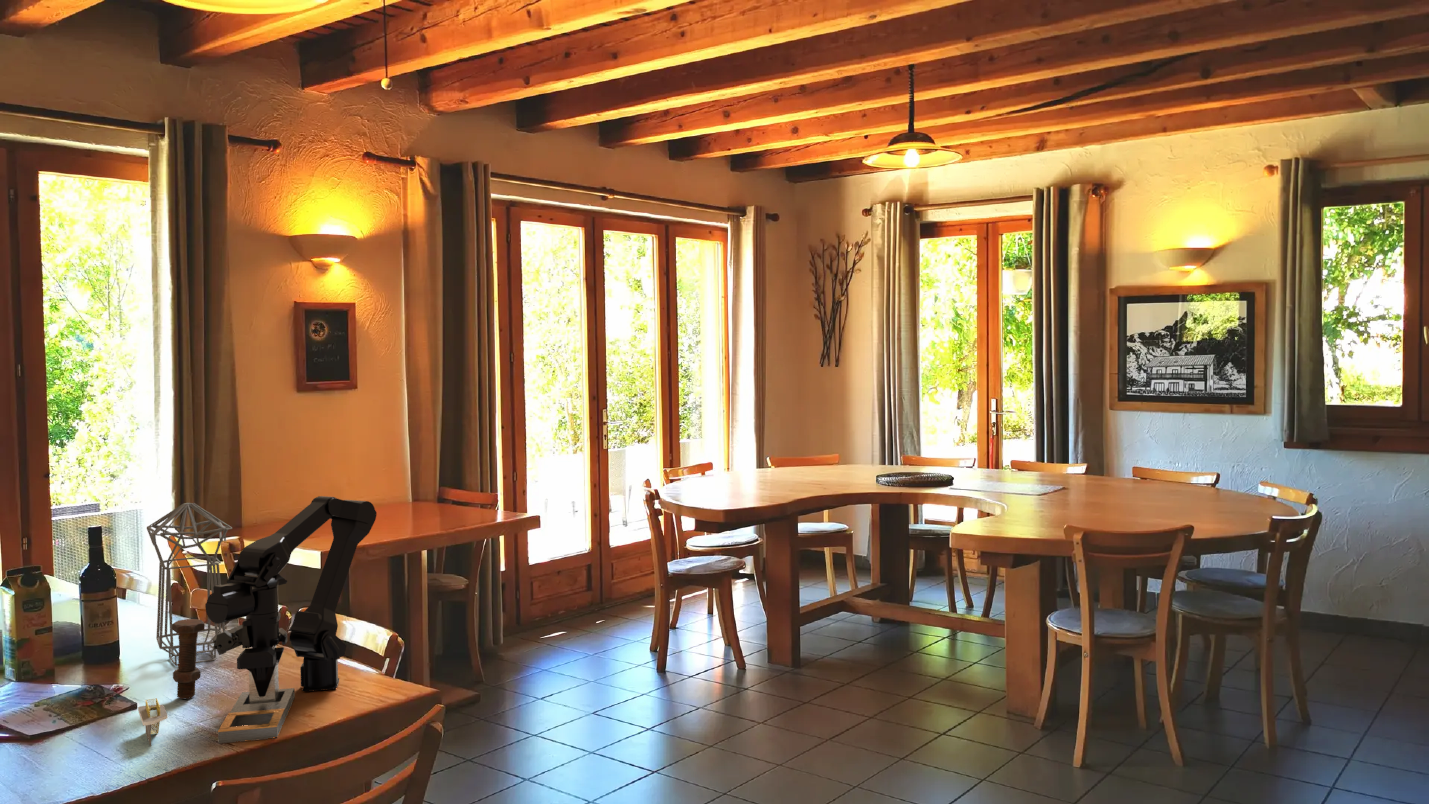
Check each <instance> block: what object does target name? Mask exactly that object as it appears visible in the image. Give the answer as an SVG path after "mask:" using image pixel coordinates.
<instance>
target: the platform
mask: <svg viewBox="0 0 1429 804" xmlns="http://www.w3.org/2000/svg"><path fill="white" fill-rule="evenodd" d="M149 701H151V702H150V704H149ZM137 710H138V711H137V712H138V714H139V716H140V720H141V723H142V726H145V735H146V737H147V740H148V744H149V747H152V735H158V734H159V731H160V729H159V728H160V725H161V724H160V722H162V721H164V720H167V719H168V712H167V710H166V707H165V706H164V704H160V703H159V701H158V698H155V697H154V698H150V699H145V705H141V706H138V707H137ZM151 711H156V715H155V716H151Z"/></svg>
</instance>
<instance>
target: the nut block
mask: <svg viewBox="0 0 1429 804" xmlns="http://www.w3.org/2000/svg"><path fill="white" fill-rule="evenodd" d="M279 685H280V683H279V664H278V663H277V664H276V667H275V670H274V673H273V676H272V678H271V681H270V684H269V687H268V690H267V693H266V695H265V696H264V697H259V695H258V692H257V689H256V685H255V682H254V679H253V676H252V673H251V672H250V671H248V688H249V690H248V692H249V700H250V704H257V703H269V702H279V689H280V686H279Z"/></svg>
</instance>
